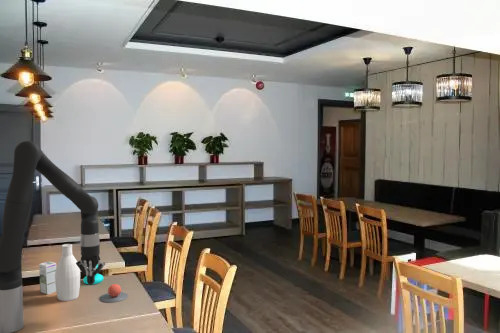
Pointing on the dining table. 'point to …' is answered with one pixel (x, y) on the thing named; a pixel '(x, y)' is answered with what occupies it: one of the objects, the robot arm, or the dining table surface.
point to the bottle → (67, 275)
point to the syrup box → (47, 277)
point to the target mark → (113, 298)
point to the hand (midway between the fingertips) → (90, 283)
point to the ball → (114, 290)
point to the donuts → (97, 278)
